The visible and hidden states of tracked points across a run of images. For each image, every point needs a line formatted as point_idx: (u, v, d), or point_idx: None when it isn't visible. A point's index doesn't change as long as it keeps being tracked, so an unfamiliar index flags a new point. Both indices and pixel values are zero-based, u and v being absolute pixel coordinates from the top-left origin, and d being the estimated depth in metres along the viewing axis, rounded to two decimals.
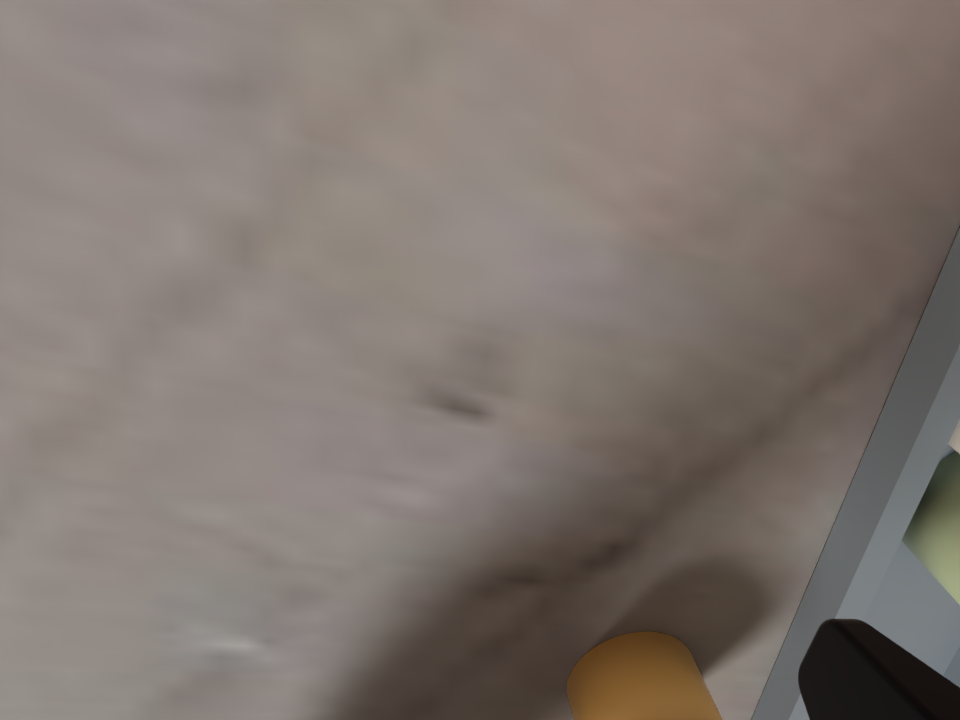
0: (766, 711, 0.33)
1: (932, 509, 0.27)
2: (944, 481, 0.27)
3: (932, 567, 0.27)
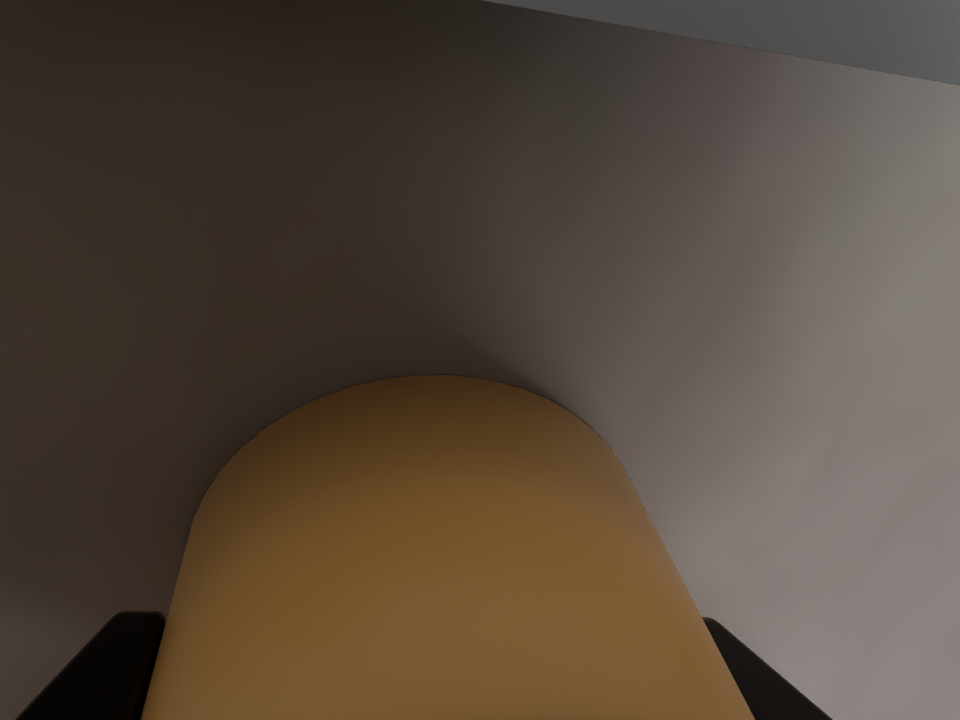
0: None
1: None
2: None
3: None
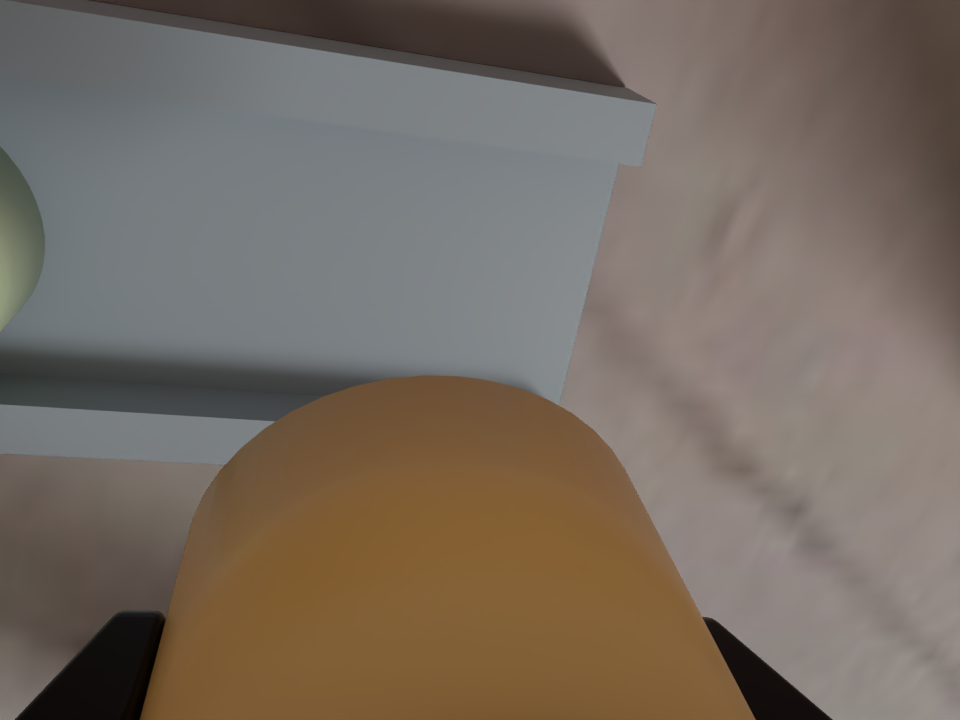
0: None
1: None
2: None
3: None
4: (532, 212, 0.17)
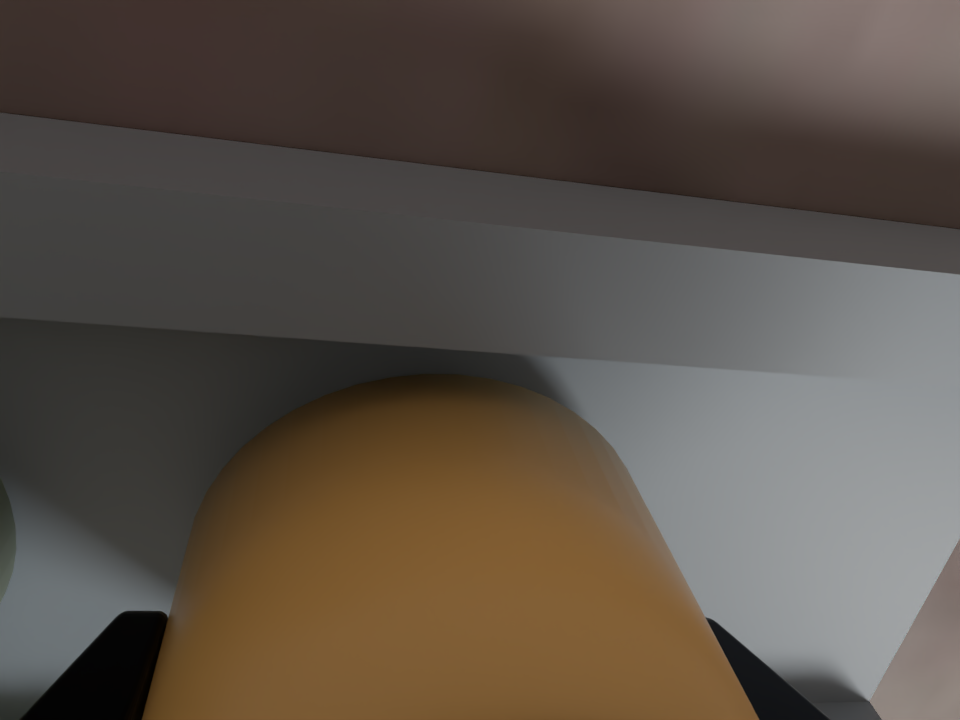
0: None
1: None
2: None
3: None
4: (902, 444, 0.10)
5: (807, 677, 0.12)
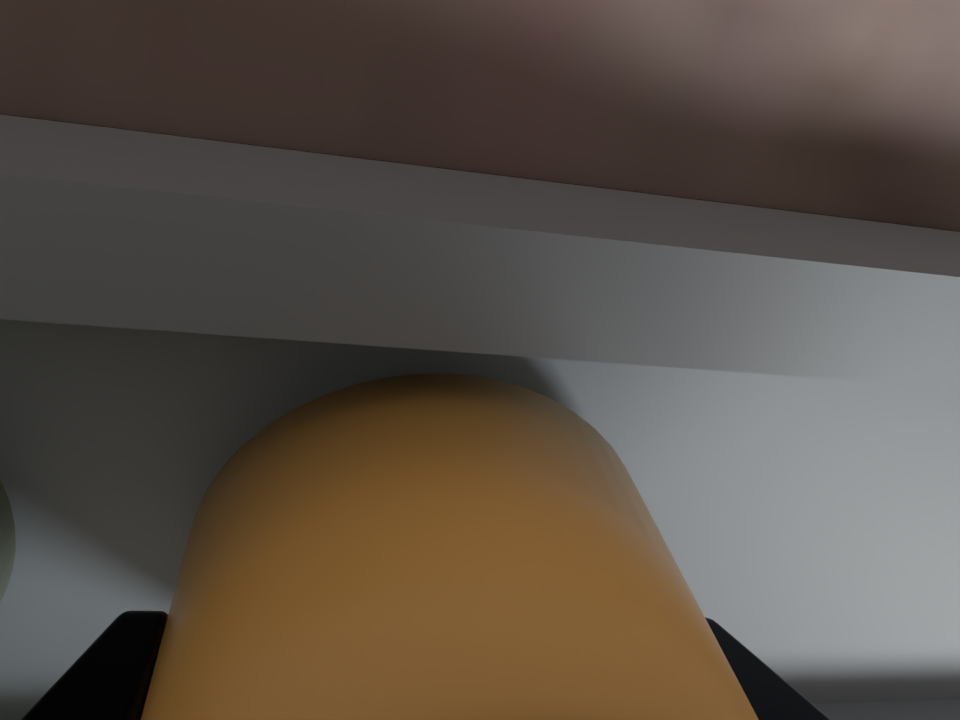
0: None
1: None
2: None
3: None
4: None
5: None
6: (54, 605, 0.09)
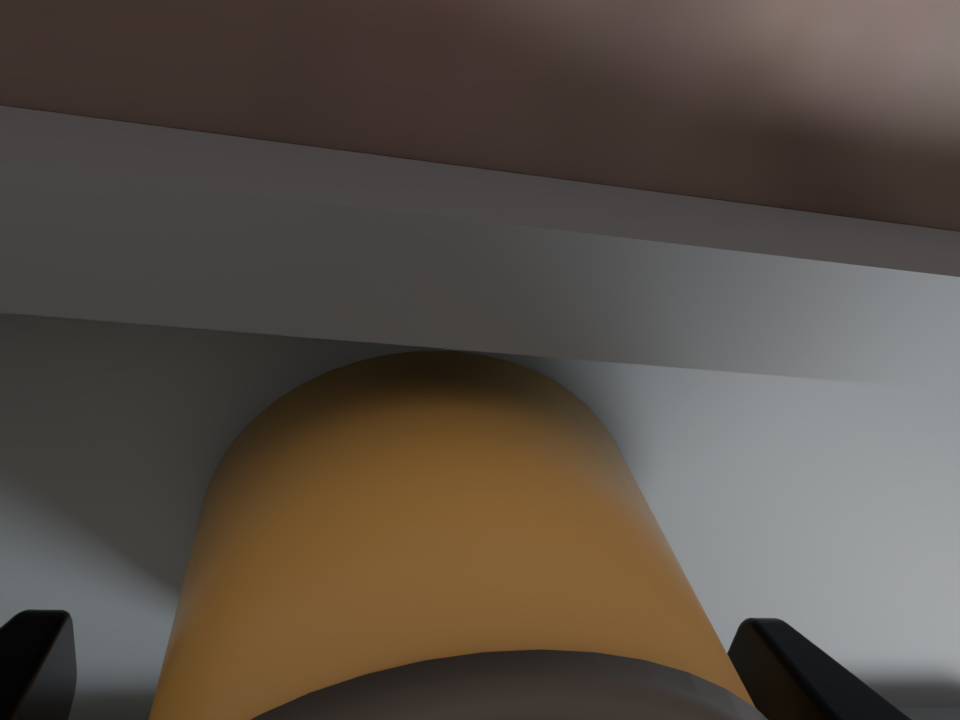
0: None
1: None
2: None
3: None
4: None
5: (934, 682, 0.12)
6: None
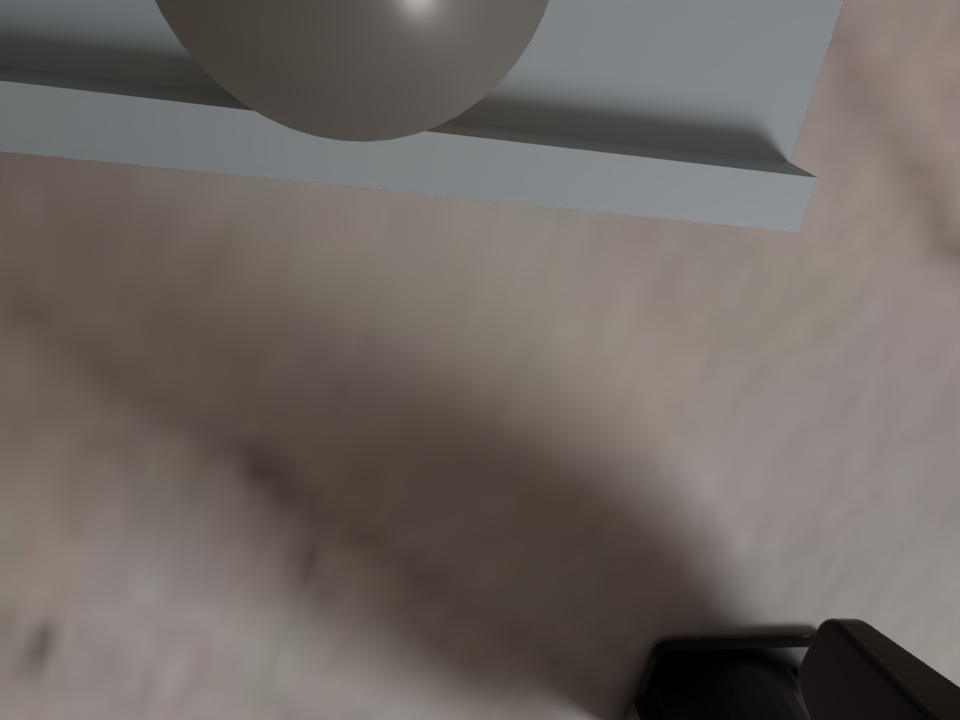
0: None
1: None
2: None
3: None
4: None
5: (742, 128, 0.17)
6: None
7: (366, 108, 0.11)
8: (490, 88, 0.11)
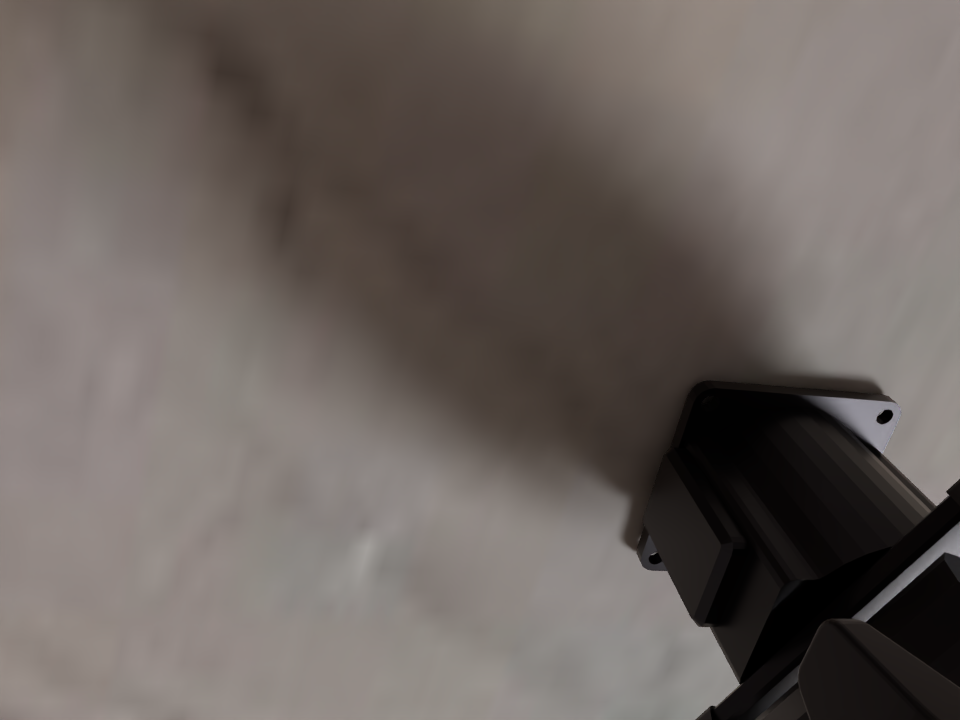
0: None
1: None
2: None
3: None
4: None
5: None
6: None
7: None
8: None
